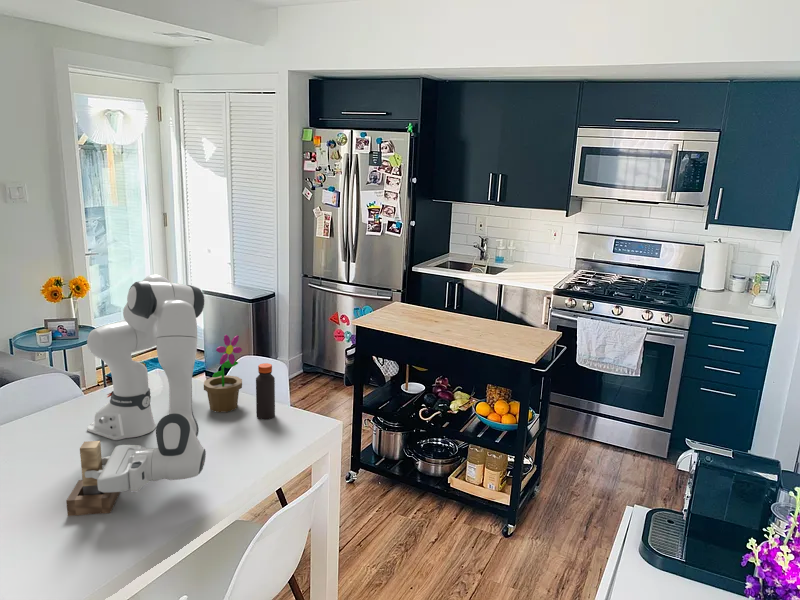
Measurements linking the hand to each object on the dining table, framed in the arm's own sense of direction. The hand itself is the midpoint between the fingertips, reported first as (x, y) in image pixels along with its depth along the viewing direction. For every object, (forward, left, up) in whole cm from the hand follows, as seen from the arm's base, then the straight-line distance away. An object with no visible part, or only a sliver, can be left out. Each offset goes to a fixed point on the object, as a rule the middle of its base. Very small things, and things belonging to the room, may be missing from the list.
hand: (88, 468), depth 163 cm
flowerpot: (-3, +70, -11) cm, 71 cm away
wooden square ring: (+1, 0, -11) cm, 11 cm away
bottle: (+16, +68, -11) cm, 71 cm away
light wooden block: (+1, 0, -9) cm, 9 cm away
